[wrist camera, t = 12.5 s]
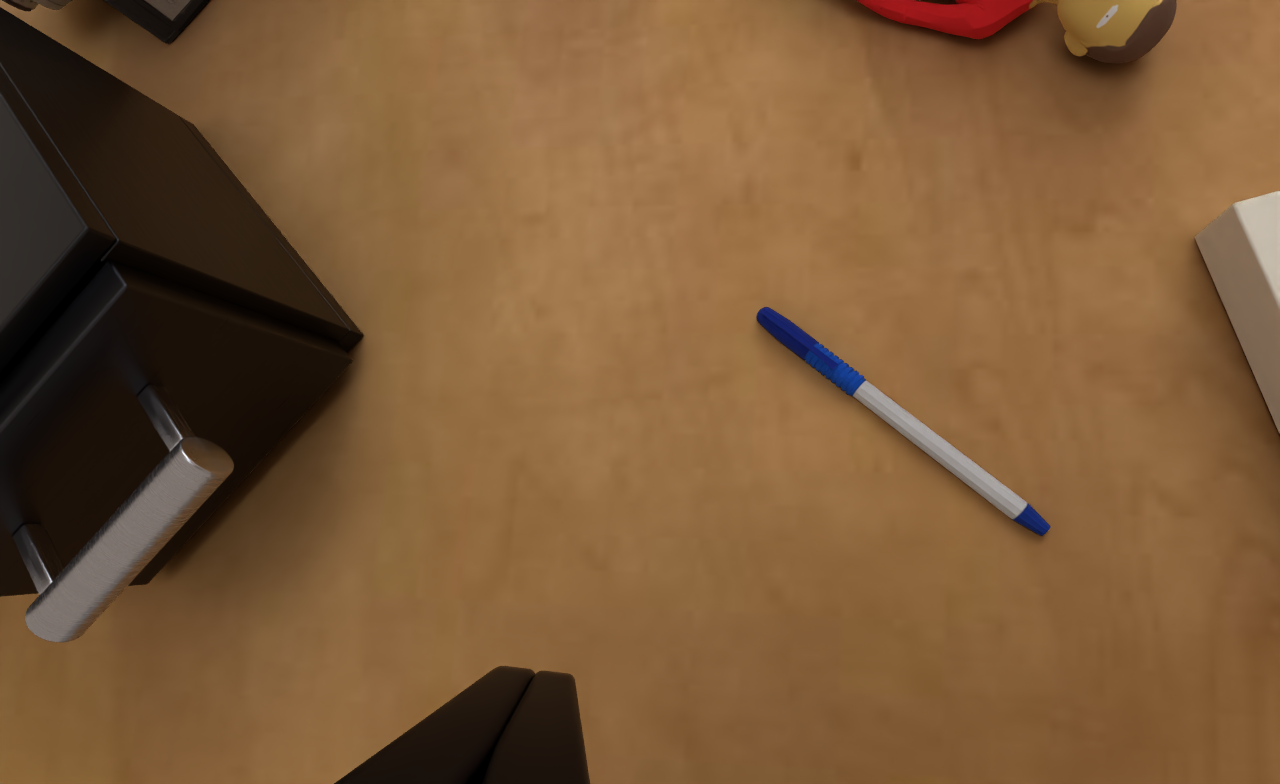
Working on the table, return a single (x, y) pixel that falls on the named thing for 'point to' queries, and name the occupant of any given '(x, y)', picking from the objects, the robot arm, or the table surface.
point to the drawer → (136, 433)
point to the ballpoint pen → (901, 420)
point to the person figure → (1087, 7)
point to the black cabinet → (126, 199)
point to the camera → (139, 13)
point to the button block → (1250, 283)
